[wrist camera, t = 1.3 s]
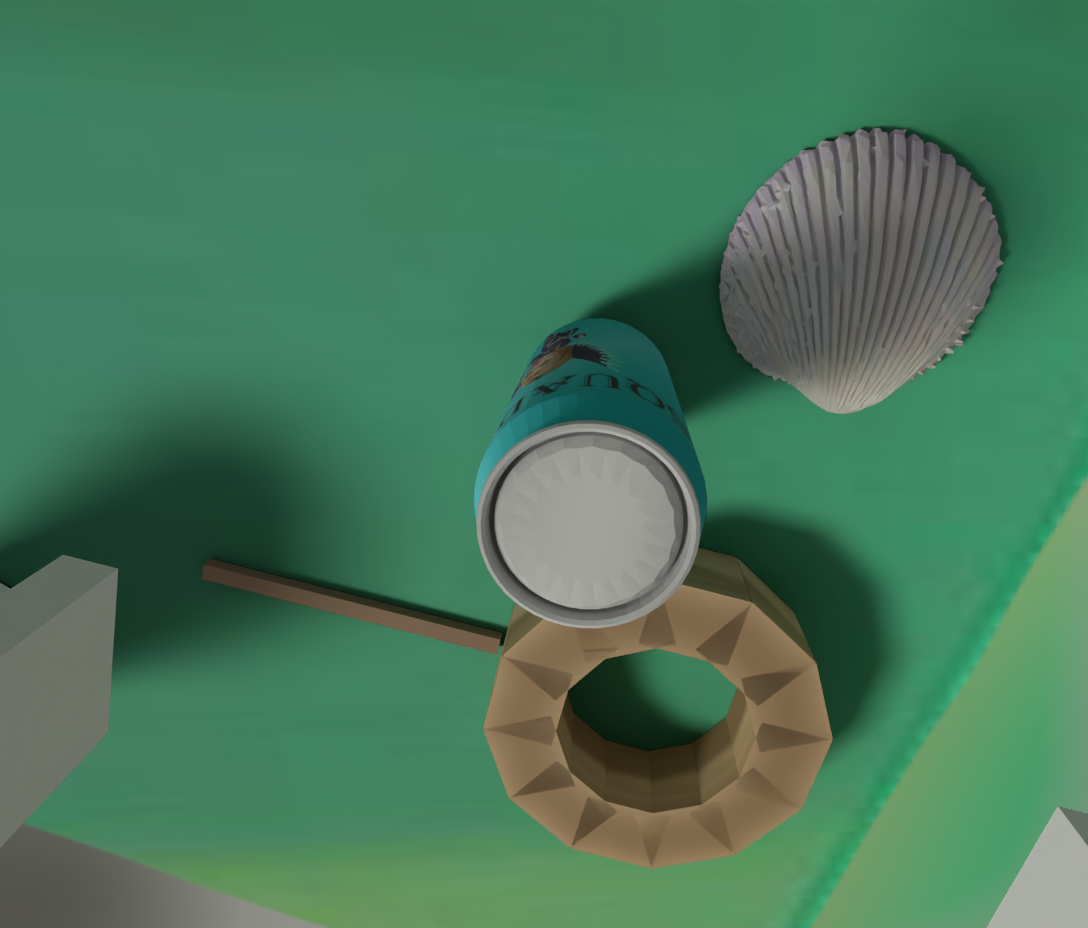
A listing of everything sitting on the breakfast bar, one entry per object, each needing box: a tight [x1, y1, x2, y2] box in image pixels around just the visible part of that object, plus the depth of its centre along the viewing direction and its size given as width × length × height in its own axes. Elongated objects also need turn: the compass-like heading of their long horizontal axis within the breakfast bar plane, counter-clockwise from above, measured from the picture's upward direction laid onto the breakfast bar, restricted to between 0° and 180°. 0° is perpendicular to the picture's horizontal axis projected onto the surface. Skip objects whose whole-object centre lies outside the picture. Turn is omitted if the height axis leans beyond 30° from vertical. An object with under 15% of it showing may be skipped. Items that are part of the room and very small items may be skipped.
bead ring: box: [483, 547, 833, 868], centre depth 34 cm, size 14×14×4 cm
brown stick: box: [202, 559, 502, 654], centre depth 36 cm, size 1×14×1 cm, turn 77°
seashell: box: [719, 128, 1004, 414], centre depth 29 cm, size 10×6×10 cm
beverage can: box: [474, 318, 707, 628], centre depth 25 cm, size 6×6×15 cm
